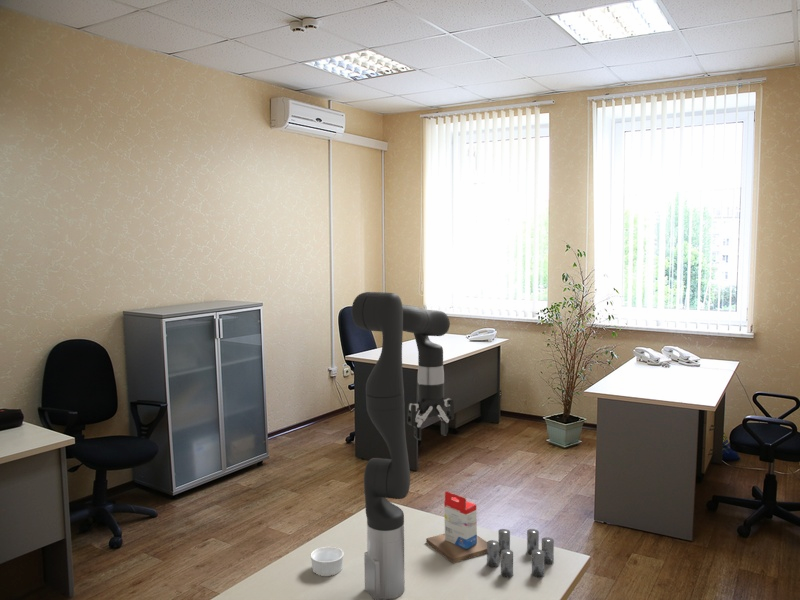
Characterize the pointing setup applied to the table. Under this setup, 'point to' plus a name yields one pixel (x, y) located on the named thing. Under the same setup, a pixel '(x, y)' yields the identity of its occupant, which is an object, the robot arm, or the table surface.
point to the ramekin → (327, 561)
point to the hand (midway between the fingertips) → (431, 437)
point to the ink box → (460, 521)
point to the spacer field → (532, 548)
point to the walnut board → (456, 548)
